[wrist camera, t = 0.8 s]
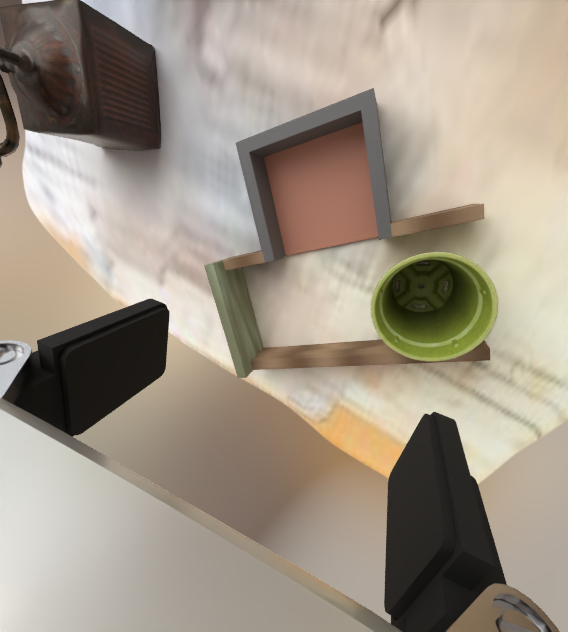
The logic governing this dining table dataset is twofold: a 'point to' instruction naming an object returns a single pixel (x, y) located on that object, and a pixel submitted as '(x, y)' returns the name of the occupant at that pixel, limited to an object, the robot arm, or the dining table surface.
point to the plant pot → (434, 307)
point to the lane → (253, 356)
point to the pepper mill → (78, 77)
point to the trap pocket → (318, 179)
